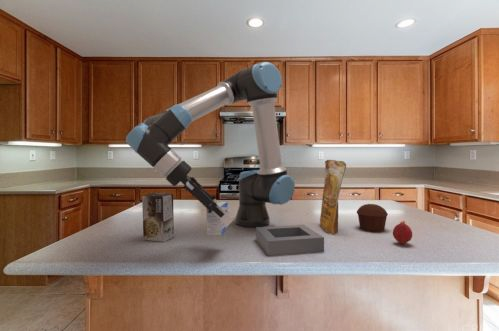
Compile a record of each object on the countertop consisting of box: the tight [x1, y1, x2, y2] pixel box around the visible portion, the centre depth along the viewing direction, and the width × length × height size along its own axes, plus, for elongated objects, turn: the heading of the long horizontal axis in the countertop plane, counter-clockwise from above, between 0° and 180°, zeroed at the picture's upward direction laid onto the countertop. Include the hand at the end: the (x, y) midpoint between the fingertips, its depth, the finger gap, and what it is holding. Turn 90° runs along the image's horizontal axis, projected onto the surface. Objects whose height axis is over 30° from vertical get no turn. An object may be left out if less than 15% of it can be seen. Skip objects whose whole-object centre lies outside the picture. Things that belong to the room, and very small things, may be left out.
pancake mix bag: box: [319, 159, 347, 235], centre depth 112 cm, size 7×19×28 cm, turn 179°
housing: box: [255, 224, 325, 257], centre depth 92 cm, size 16×18×4 cm
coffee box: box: [141, 192, 175, 243], centre depth 100 cm, size 9×6×16 cm
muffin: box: [356, 203, 389, 233], centre depth 112 cm, size 12×11×10 cm
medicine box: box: [205, 201, 229, 237], centre depth 85 cm, size 8×4×9 cm, turn 168°
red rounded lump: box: [392, 220, 413, 245], centre depth 93 cm, size 6×6×8 cm
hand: (228, 218), depth 86 cm, fingers closed on medicine box, 9 cm apart
